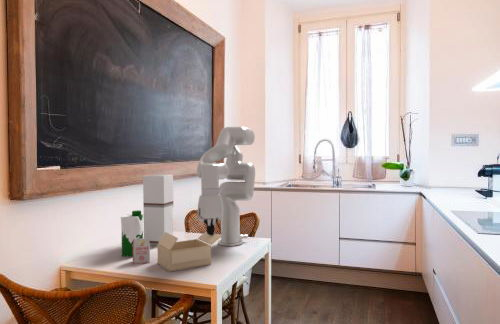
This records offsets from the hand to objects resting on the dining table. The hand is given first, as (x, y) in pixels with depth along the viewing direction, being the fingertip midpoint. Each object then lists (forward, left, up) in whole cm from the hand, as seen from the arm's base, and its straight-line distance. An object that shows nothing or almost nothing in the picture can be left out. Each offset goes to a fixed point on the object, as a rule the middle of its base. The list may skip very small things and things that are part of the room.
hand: (210, 234), depth 167 cm
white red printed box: (+26, -13, -11) cm, 31 cm away
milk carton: (+26, -27, -11) cm, 39 cm away
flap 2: (+3, 0, -3) cm, 5 cm away
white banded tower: (+8, -43, -11) cm, 45 cm away
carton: (+12, 0, -11) cm, 17 cm away
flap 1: (+21, 0, -3) cm, 22 cm away
